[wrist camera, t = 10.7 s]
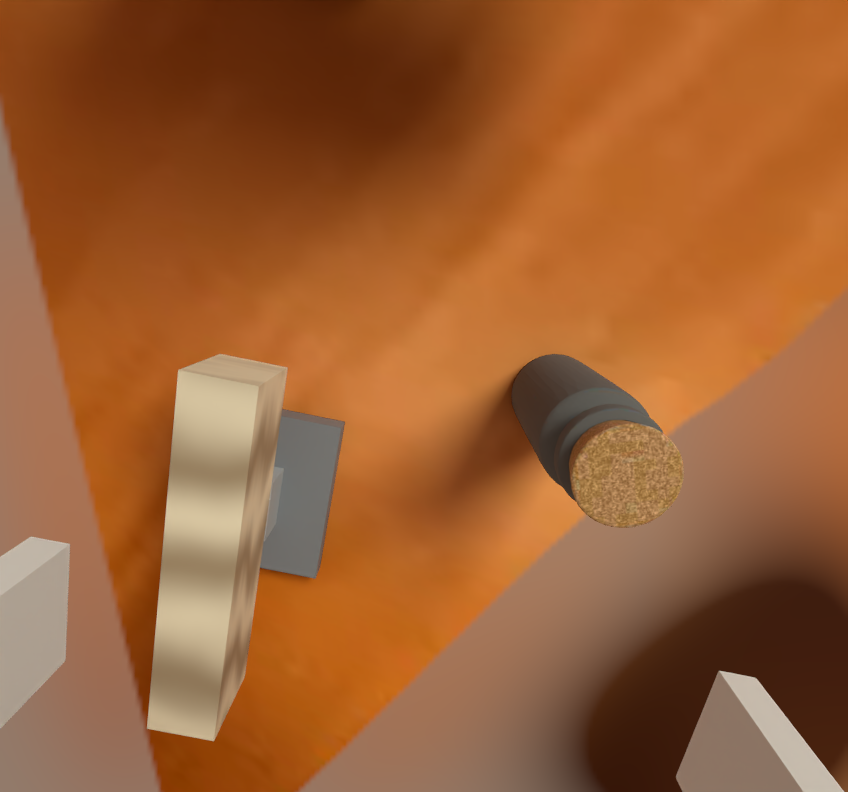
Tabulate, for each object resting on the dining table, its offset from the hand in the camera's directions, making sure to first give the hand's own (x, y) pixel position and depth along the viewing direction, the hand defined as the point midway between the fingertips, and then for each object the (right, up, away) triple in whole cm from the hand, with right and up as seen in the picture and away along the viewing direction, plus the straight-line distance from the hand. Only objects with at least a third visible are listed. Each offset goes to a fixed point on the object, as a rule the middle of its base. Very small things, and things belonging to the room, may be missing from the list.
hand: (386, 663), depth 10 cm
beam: (-11, -3, +22) cm, 25 cm away
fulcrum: (-11, -1, +28) cm, 30 cm away
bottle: (+10, +6, +26) cm, 28 cm away
